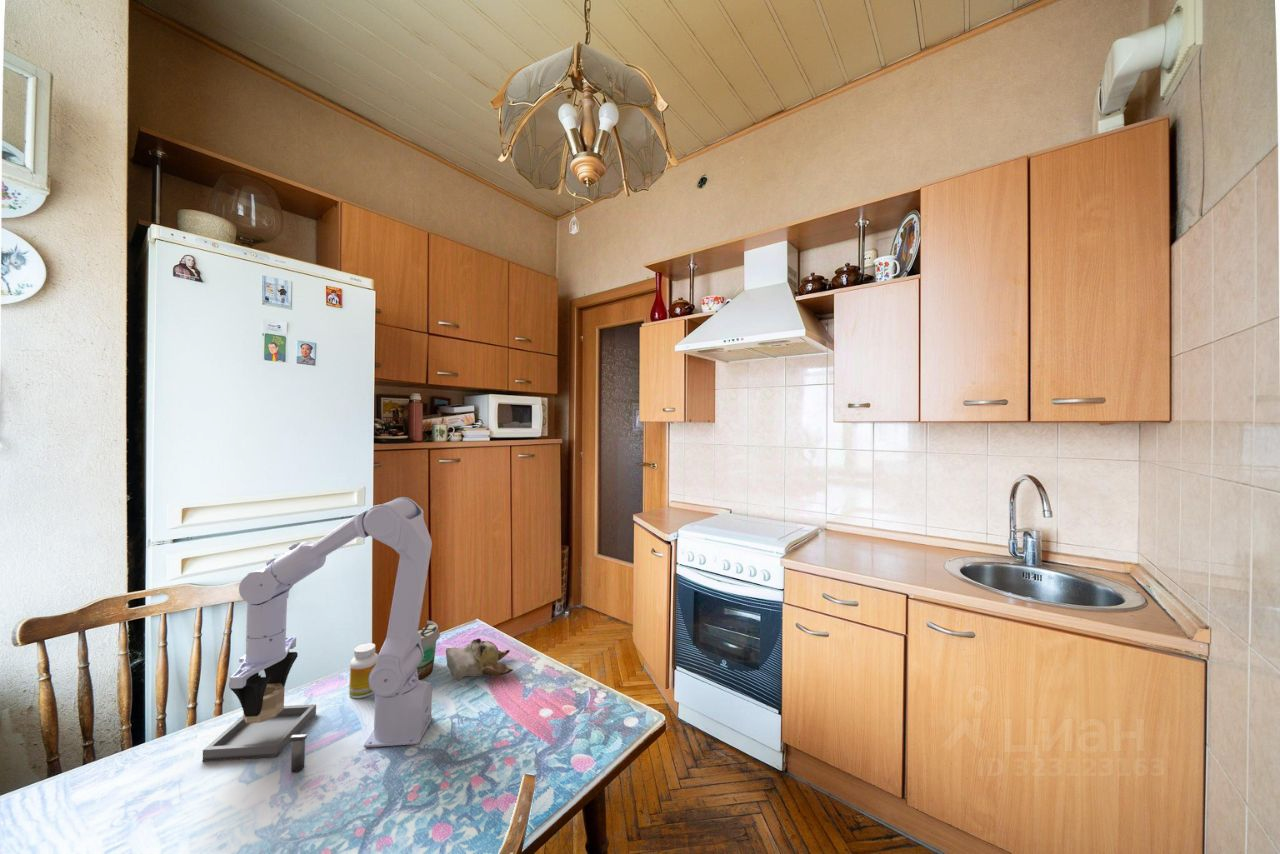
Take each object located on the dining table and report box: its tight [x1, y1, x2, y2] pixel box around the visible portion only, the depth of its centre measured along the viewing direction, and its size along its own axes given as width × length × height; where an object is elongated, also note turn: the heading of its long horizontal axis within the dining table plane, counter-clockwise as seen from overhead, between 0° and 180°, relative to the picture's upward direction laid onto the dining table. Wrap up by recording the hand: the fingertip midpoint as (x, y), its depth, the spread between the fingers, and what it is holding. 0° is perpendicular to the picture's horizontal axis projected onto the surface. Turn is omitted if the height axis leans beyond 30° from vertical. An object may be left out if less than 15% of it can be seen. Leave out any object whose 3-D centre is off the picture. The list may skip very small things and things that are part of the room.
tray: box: [202, 703, 317, 762], centre depth 83 cm, size 12×12×2 cm
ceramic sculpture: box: [445, 637, 514, 682], centre depth 106 cm, size 11×9×15 cm
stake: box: [290, 733, 308, 774], centre depth 75 cm, size 2×2×6 cm
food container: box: [417, 620, 441, 681], centre depth 105 cm, size 12×6×10 cm, turn 168°
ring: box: [242, 683, 285, 723], centre depth 83 cm, size 5×5×4 cm
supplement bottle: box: [348, 642, 379, 699], centre depth 97 cm, size 5×5×10 cm
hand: (264, 704), depth 83 cm, fingers closed on ring, 5 cm apart
